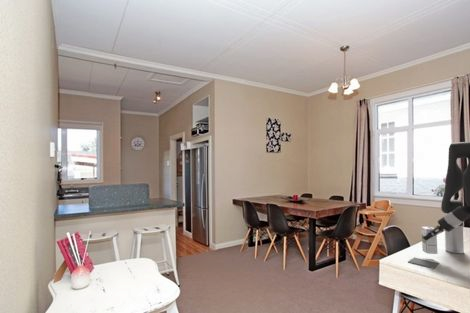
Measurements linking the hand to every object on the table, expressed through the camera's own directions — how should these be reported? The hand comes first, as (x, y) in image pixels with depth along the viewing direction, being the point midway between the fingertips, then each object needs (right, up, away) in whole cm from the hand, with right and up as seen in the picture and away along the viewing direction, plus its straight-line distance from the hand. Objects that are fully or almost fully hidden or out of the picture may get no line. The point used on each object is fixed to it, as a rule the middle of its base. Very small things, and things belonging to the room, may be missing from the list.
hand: (426, 237), depth 161 cm
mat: (-8, -12, -9) cm, 16 cm away
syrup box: (+1, -8, -1) cm, 9 cm away
